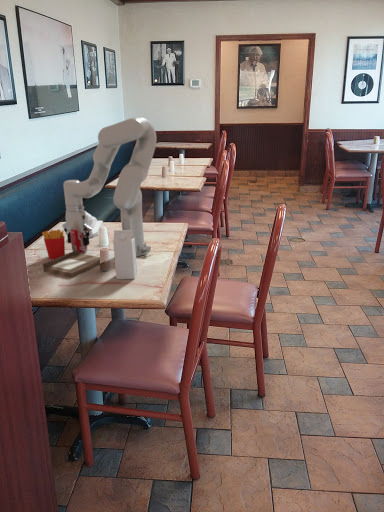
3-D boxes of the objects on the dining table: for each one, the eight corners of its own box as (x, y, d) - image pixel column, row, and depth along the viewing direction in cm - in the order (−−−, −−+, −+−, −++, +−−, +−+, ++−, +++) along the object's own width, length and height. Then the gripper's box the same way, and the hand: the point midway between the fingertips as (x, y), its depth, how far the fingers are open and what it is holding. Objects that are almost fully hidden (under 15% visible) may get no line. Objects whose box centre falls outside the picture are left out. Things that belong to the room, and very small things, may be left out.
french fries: (67, 255, 206) (63, 227, 202) (66, 258, 202) (62, 230, 198) (46, 257, 204) (42, 229, 200) (45, 260, 200) (41, 232, 196)
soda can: (90, 249, 212) (87, 225, 208) (85, 254, 206) (82, 229, 202) (75, 249, 213) (72, 225, 209) (70, 254, 207) (67, 229, 203)
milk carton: (119, 273, 182) (115, 228, 176) (137, 272, 182) (133, 227, 176) (116, 279, 175) (112, 233, 169) (134, 279, 175) (130, 232, 169)
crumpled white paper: (104, 239, 234) (99, 215, 225) (75, 244, 232) (69, 220, 224) (104, 227, 244) (99, 204, 236) (76, 231, 242) (70, 208, 234)
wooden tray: (105, 262, 195) (104, 254, 194) (72, 277, 179) (71, 269, 178) (77, 257, 203) (76, 249, 202) (43, 271, 186) (42, 263, 185)
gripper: (94, 207, 201) (98, 244, 207) (66, 204, 210) (70, 239, 215) (83, 211, 195) (87, 248, 201) (54, 207, 204) (59, 243, 209)
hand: (78, 243), depth 208 cm, fingers open, 9 cm apart
